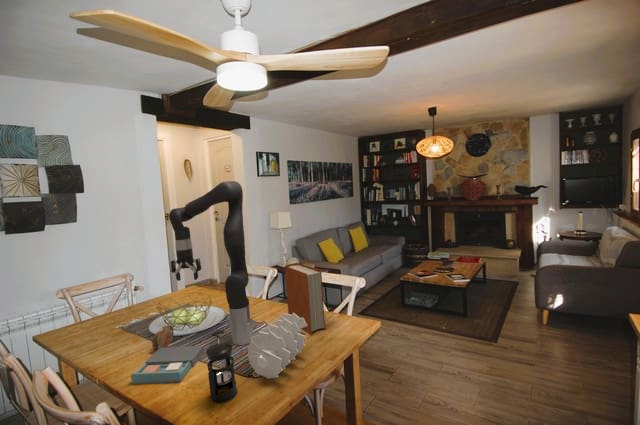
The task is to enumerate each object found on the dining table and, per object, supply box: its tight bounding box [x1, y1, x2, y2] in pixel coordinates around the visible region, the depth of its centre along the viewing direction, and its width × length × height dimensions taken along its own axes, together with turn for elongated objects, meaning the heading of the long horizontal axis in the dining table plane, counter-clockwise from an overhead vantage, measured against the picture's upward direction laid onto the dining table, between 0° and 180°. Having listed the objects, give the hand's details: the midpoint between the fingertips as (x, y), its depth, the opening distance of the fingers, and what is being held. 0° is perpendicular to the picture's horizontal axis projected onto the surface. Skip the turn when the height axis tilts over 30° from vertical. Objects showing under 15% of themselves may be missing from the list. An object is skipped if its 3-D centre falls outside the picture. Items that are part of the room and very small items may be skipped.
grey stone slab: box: [144, 345, 205, 368], centre depth 144 cm, size 20×12×3 cm, turn 88°
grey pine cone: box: [246, 312, 308, 380], centre depth 134 cm, size 18×18×25 cm
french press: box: [205, 330, 238, 404], centre depth 117 cm, size 12×9×23 cm
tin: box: [151, 325, 174, 352], centre depth 157 cm, size 15×3×8 cm, turn 178°
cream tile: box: [165, 362, 183, 372], centre depth 133 cm, size 5×5×2 cm
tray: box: [130, 362, 193, 385], centre depth 133 cm, size 19×10×4 cm, turn 88°
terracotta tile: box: [141, 365, 161, 373], centre depth 133 cm, size 5×5×2 cm
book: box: [284, 262, 326, 336], centre depth 169 cm, size 23×8×30 cm, turn 34°
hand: (187, 280), depth 166 cm, fingers open, 8 cm apart
